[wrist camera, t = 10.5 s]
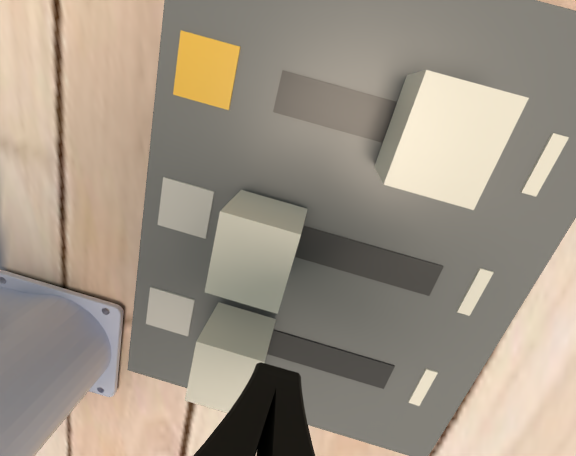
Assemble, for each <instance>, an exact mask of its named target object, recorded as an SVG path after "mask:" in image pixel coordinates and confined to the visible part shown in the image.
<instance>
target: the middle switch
mask: <svg viewBox="0 0 576 456" xmlns="http://www.w3.org/2000/svg"><path fill="white" fill-rule="evenodd" d="M306 213H307V209H306V208H303V207H299V206H296V205H293V204H289V203H286V202H282V201H279V200H275V199H272V198H268V197H265V196H261V195H258V194H254V193H251V192H247V191H244V190H241V191H240V192H239V193H238V194H237V195H236V196H235V197H234V198H233V199H232V200H231V201H230V202H229V203H228V204H227V205H226V206H225V207H224V208H223V209H222V210H221V211H220V213H219V219H218V224H217V229H216V234H215V240H214V245H213V250H212V255H211V261H210V266H209V271H208V276H207V281H206V287H205V293H208V294H212V295H215V296H219V297H222V298H225V299H229V300H232V301H235V302H239V303H242V304H246V305H249V306H252V307H256V308H259V309H262V310H266V311H269V312H273V313H276V314H278V311H279V308H280V304H281V301H282V298H283V294H284V291H285V287H286V284H287V281H288V277H289V274H290V271H291V267H292V264H293V260H294V257H295V254H296V250H297V247H298V243H299V240H300V237H301V233H302V229H303V225H304V221H305V217H306Z"/></svg>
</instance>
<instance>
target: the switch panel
mask: <svg viewBox="0 0 576 456" xmlns="http://www.w3.org/2000/svg"><path fill="white" fill-rule="evenodd" d="M424 70H429V71H433V72H436V73H440V74H443V75H447V76H451V77H454V78H458V79H462V80H465V81H469V82H473V83H476V84H480V85H484V86H487V87H491V88H495V89H498V90H502V91H506V92H509V93H513V94H516V95H520V96H524V97H527V98H529V99H528V101H527V103H526V105H525V107H524V109H523V111H522V113H521V115H520V117H519V119H518V121H517V123H516V125H515V127H514V129H513V131H512V133H511V135H510V137H509V140H508V142H507V144H506V146H505V148H504V150H503V152H502V154H501V156H500V158H499V160H498V162H497V164H496V166H495V168H494V170H493V172H492V174H491V176H490V178H489V180H488V182H487V184H486V186H485V188H484V190H483V192H482V194H481V196H480V198H479V200H478V202H477V204H476V207H475V209H474V210H471V209H468V208H464V207H461V206H457V205H454V204H450V203H447V202H443V201H440V200H436V199H433V198H429V197H425V196H422V195H418V194H415V193H411V192H408V191H404V190H401V189H397V188H394V187H390V186H387V185H384V184H383V183H382V181H381V179H380V177H379V175H378V173H377V171H376V169H375V167H374V166H375V163H376V160H377V158H378V155H379V152H380V149H381V146H382V144H383V141H384V138H385V135H386V132H387V130H388V127H389V124H390V121H391V118H392V116H393V113H394V110H395V107H396V104H397V101H398V99H399V96H400V93H401V90H402V87H403V85H404V82H405V79H406V76H407V75H409V74H413V73H417V72H420V71H424ZM241 190H244V191H247V192H251V193H254V194H258V195H261V196H265V197H268V198H272V199H275V200H279V201H282V202H286V203H289V204H293V205H296V206H299V207H303V208H306V209H307V213H306V217H305V221H304V225H303V229H302V233H301V237H300V240H299V243H298V247H297V250H296V254H295V257H294V260H293V264H292V267H291V271H290V274H289V277H288V281H287V284H286V287H285V291H284V294H283V298H282V301H281V304H280V308H279V311H278V314H276V313H273V312H269V311H266V310H262V309H259V308H256V307H252V306H249V305H246V304H242V303H239V302H235V301H232V300H229V299H225V298H222V297H219V296H215V295H212V294H208V293H205V287H206V281H207V276H208V271H209V266H210V261H211V255H212V250H213V245H214V240H215V234H216V229H217V224H218V219H219V213H220V211H221V210H222V209H223V208H224V207H225V206H226V205H227V204H228V203H229V202H230V201H231V200H232V199H233V198H234V197H235V196H236V195H237V194H238V193H239V192H240V191H241ZM575 218H576V11H574V10H570V9H567V8H563V7H559V6H555V5H552V4H548V3H544V2H540V1H537V0H165V2H164V12H163V22H162V32H161V42H160V52H159V62H158V72H157V82H156V92H155V102H154V112H153V122H152V132H151V142H150V152H149V162H148V172H147V182H146V192H145V202H144V212H143V222H142V232H141V242H140V252H139V262H138V271H137V281H136V291H135V301H134V311H133V321H132V331H131V341H130V351H129V361H128V370H129V371H133V372H136V373H139V374H143V375H146V376H149V377H152V378H156V379H159V380H162V381H166V382H169V383H172V384H175V385H179V386H182V387H185V388H187V387H188V382H189V376H190V371H191V366H192V361H193V356H194V350H195V345H196V341H197V339H198V338H199V336H200V334H201V332H202V330H203V329H204V327H205V325H206V323H207V322H208V320H209V318H210V316H211V315H212V313H213V311H214V309H215V307H216V306H217V304H218V302H220V303H223V304H227V305H230V306H233V307H237V308H240V309H243V310H247V311H250V312H254V313H257V314H260V315H264V316H267V317H270V318H274V319H276V322H275V325H274V329H273V333H272V336H271V340H270V344H269V348H268V351H267V355H266V359H265V363H266V364H269V365H273V366H276V367H280V368H283V369H287V370H290V371H294V372H297V373H299V374H300V376H301V386H302V395H303V402H304V408H305V414H306V419H307V424H308V425H310V426H313V427H317V428H320V429H323V430H326V431H330V432H333V433H336V434H340V435H343V436H346V437H349V438H353V439H356V440H359V441H363V442H366V443H369V444H372V445H376V446H379V447H382V448H386V449H389V450H392V451H395V452H399V453H402V454H405V455H409V456H428V455H429V454H430V452H431V451H432V449H433V447H434V446H435V444H436V442H437V441H438V439H439V438H440V436H441V434H442V433H443V431H444V430H445V428H446V426H447V425H448V423H449V421H450V420H451V418H452V417H453V415H454V413H455V412H456V410H457V409H458V407H459V405H460V404H461V402H462V400H463V399H464V397H465V396H466V394H467V392H468V391H469V389H470V388H471V386H472V384H473V383H474V381H475V379H476V378H477V376H478V375H479V373H480V371H481V370H482V368H483V367H484V365H485V363H486V362H487V360H488V359H489V357H490V355H491V354H492V352H493V350H494V349H495V347H496V346H497V344H498V342H499V341H500V339H501V338H502V336H503V334H504V333H505V331H506V329H507V328H508V326H509V325H510V323H511V321H512V320H513V318H514V317H515V315H516V313H517V312H518V310H519V308H520V307H521V305H522V304H523V302H524V300H525V299H526V297H527V296H528V294H529V292H530V291H531V289H532V287H533V286H534V284H535V283H536V281H537V279H538V278H539V276H540V275H541V273H542V271H543V270H544V268H545V266H546V265H547V263H548V262H549V260H550V258H551V257H552V255H553V254H554V252H555V250H556V249H557V247H558V245H559V244H560V242H561V241H562V239H563V237H564V236H565V234H566V233H567V231H568V229H569V228H570V226H571V224H572V223H573V221H574V220H575Z"/></svg>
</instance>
